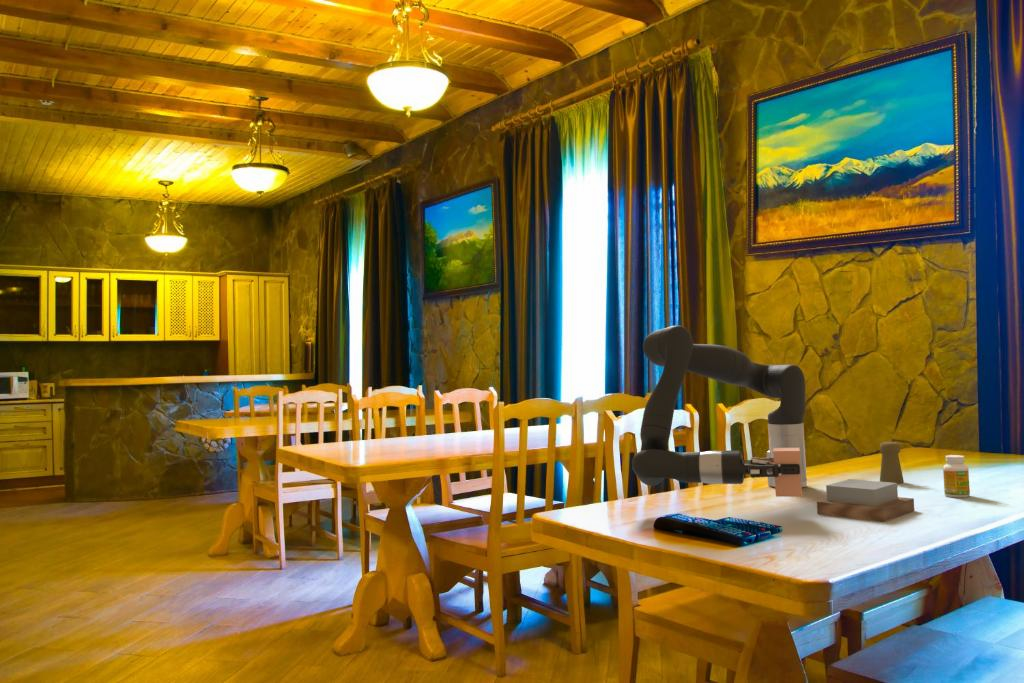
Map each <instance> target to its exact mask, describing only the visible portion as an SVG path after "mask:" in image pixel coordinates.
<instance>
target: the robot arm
mask: <svg viewBox="0 0 1024 683" xmlns="http://www.w3.org/2000/svg"><path fill="white" fill-rule="evenodd" d="M642 343H643V344H642V350H643V353H644V356H645V357H646V358H647V359H648V360H649V362H651V363H652V364H654V365H656V366H657V367H661V368H662V367H663V371H662V373H661V376H660V378H659V380H658V382H657V384H656V385H655V387H654V389H653V391H652V393H651V394H650V396H649V397H648V399H647V402H646V404H645V407H644V410H643V414H642V421H641V427H640V434H639V435H640V440H641V446H640V450H639V451H638V452H637V453H636V454H635V455H634V456H633V458H632V461H631V467H632V471H633V472H634V474H635V475H636V477H637V478H638V480H639V481H640V482H641V483H642V484H644V485H646V486H650V487H651V486H652V487H653V486H657V485H659V484H661V483H662V481H663V480H664V479H665V480H666V479H668V480H669V479H670V480H676V481H678V482H679V483H686V484H689V483H690V484H692V483H693V484H697V483H698V484H699V483H700V484H709V485H742V484H743V483H744V481H745V476H744V475H749V477H750V478H753V479H755V478H767V486H768V487H773V488H775V477H778V476H780V475H782V474H800V465H801V482H802V489H803V488H806V487H807V486H808V484H807V480H808V479H807V463H806V444H805V430H804V429H805V428H804V416H805V412H806V379H805V375H804V372H803V370H802V369H801V367H800V366H798V365H796V364H762V363H757V362H753V361H752V360H751V359H750V358H749V357H748V356H747V354H745V353H744V352H743V351H740V350H737V349H735V348H732V347H729V346H726V345H725V346H724V345H721V344H707V343H706V344H705V343H694V340H693V337H692V334H691V332H690V331H689V330H688V329H687V328H686V327H684V326H682V325H671V326H668V327H667V326H666V327H665V328H661V329H657V330H654V331H652V332H651V333H649V334H648V335H647V336H646V337H645V339H644V341H643V342H642ZM687 372H689V373H692V374H695V375H698V376H702V377H705V378H709V379H712V380H714V381H717V382H721V383H725V384H727V385H731V386H732V385H733V386H737V387H743V388H748V389H750V390H752V391H754V392H757V393H759V394H760V395H763V396H765V397H768V398H772V399H780V404H779V407H778V408H776V409H775V410H773V411H770V412H769V413H767V414H768V415H767V429H768V430H767V432H768V444H769V445H768V447H769V450H768V451H766V457H757V456H754V457H753V456H752V457H750V458H751V459H747V460H745V459H744V457H743V452H742V450H707V451H691V452H690V451H686V452H679V451H674V450H669V441H670V438H671V432H672V426H673V419H674V413H675V408H676V404H677V401H678V397H679V394H680V391H681V388H682V385H683V382H684V378H685V375H686V373H687ZM774 448H799V449H800V465H799V464H782V466H781V464H779V463H777V464H774V456H773V449H774Z"/></svg>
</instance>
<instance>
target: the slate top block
mask: <svg viewBox="0 0 1024 683" xmlns="http://www.w3.org/2000/svg"><path fill="white" fill-rule="evenodd" d="M825 488H826V490H825V491H826V499H827V501H833V502H842V503H852V504H861V505H871V506H877V505H880V504H883V503H886V502H889V501H892V500H895V499H898V497H899V496H898V492H899V491H898V484H897V483H891V482H880V480H877V481H875V480H865V479H853V478H849V479H846V480H842V481H838V482H832V483H830V484H826V486H825Z"/></svg>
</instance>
